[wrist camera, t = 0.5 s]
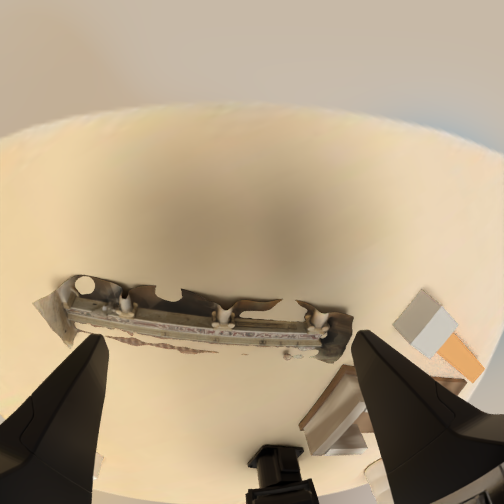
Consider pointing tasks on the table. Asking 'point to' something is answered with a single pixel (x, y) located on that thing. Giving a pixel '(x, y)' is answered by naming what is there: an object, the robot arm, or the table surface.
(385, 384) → the robot arm
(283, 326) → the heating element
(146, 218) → the table surface
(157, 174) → the table surface
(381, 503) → the water bottle
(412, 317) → the tan bar grey block
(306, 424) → the cable board
